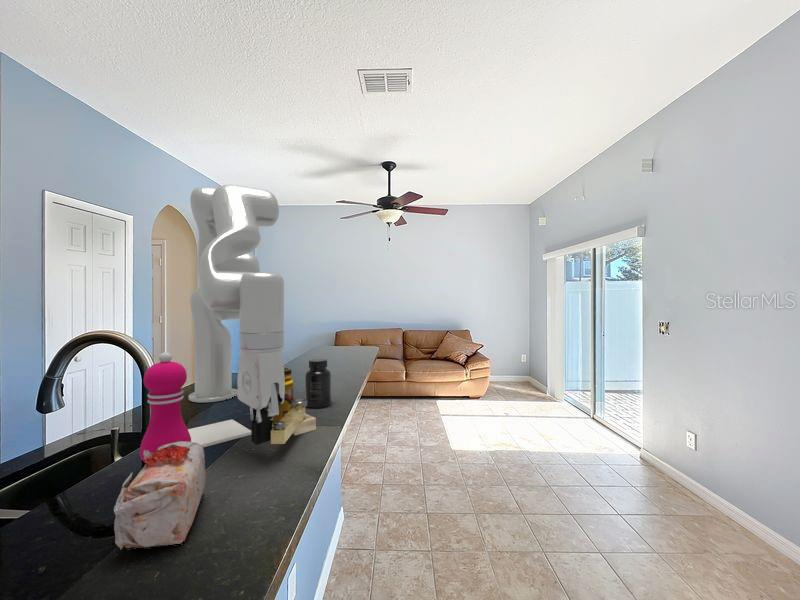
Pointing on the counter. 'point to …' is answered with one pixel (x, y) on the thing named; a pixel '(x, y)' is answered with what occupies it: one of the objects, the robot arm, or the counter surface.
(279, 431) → the lever
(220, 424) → the plate
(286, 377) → the condiment
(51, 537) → the counter surface
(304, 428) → the block
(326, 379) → the supplement bottle
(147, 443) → the pepper mill
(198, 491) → the food item
